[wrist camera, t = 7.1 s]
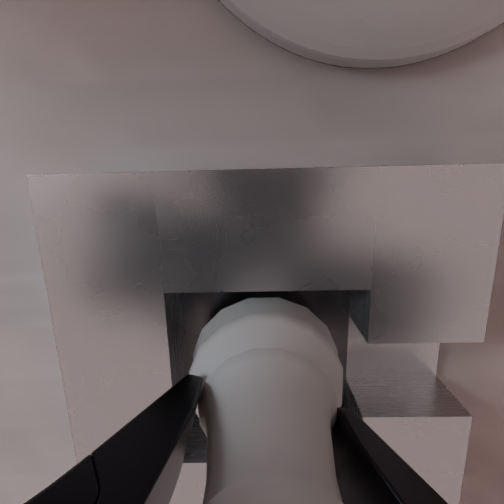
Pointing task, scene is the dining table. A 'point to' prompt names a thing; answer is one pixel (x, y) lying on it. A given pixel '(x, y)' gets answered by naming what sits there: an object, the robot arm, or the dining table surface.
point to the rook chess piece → (268, 404)
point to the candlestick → (369, 27)
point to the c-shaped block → (272, 288)
